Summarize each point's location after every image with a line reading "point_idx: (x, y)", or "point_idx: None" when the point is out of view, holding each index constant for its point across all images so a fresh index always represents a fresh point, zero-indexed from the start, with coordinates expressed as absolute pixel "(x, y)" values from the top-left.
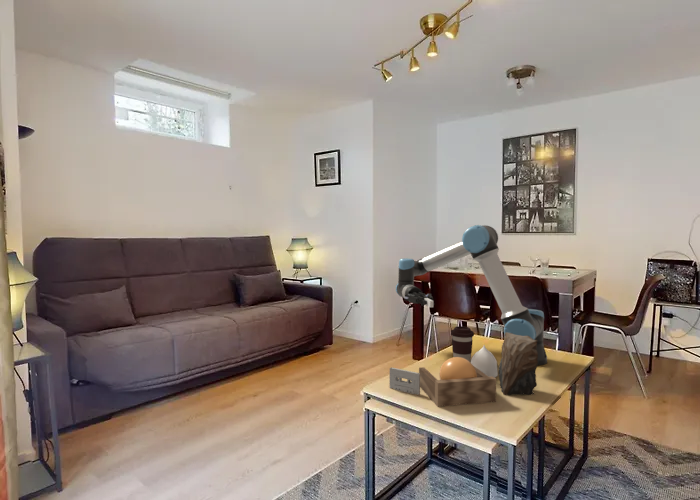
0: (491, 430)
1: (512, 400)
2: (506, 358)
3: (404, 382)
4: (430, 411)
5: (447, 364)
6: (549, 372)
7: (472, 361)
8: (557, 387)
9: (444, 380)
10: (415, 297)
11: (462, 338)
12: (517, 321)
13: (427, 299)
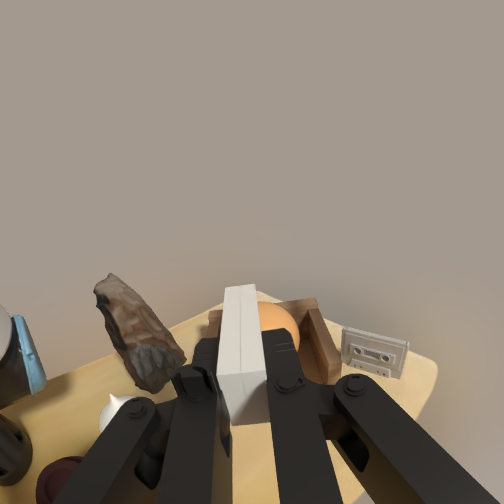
0: (265, 297)
1: (189, 345)
2: (153, 317)
3: (372, 352)
4: (328, 320)
5: (284, 310)
6: (39, 405)
7: None
8: (89, 366)
9: (301, 304)
10: (396, 414)
11: None
12: (23, 320)
13: (254, 319)
